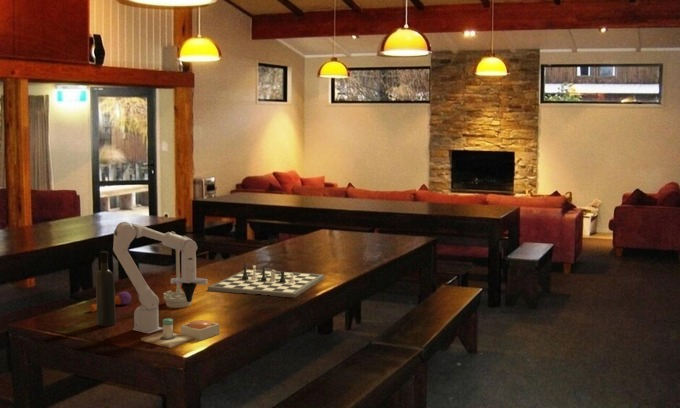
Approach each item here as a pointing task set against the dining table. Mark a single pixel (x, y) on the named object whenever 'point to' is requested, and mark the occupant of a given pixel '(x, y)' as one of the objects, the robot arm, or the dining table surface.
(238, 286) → the chess set
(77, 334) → the dining table surface
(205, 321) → the orange dome
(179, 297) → the flag stand
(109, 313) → the wine bottle
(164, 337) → the jar with green lid
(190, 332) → the open square beige box
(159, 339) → the board
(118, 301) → the kendama
